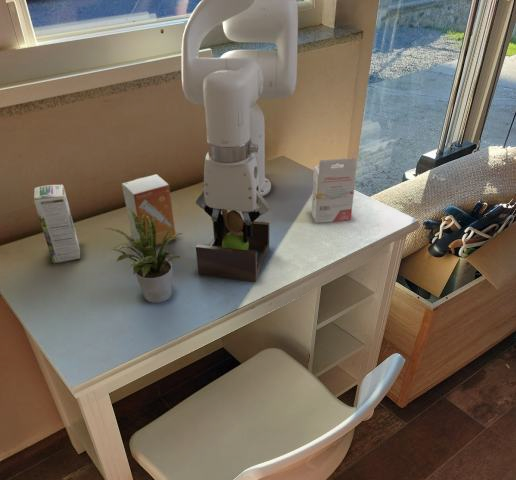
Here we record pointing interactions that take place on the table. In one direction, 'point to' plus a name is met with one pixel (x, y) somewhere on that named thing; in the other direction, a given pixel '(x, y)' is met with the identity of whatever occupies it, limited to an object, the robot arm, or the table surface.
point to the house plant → (150, 261)
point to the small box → (150, 205)
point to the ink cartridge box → (333, 190)
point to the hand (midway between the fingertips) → (234, 236)
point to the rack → (234, 256)
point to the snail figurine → (234, 231)
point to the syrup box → (57, 222)
